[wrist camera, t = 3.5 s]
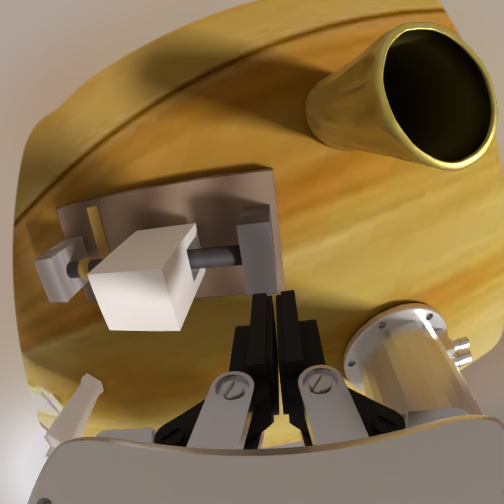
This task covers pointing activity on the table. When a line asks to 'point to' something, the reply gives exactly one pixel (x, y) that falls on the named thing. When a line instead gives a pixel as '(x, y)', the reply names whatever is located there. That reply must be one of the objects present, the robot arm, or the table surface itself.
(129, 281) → the notched white rod block
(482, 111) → the vase
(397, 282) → the table surface
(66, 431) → the perfume bottle
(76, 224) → the linear slide rail
